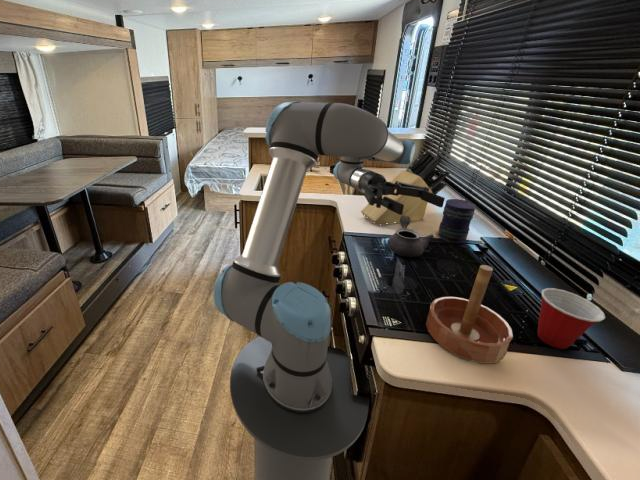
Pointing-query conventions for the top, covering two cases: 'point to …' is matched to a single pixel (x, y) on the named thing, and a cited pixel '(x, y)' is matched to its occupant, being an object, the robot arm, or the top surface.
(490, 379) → the top surface
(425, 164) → the knife block
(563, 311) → the plastic cup
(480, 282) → the wooden pestle
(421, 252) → the teapot
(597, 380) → the top surface
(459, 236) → the storage jar
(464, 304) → the bowl
